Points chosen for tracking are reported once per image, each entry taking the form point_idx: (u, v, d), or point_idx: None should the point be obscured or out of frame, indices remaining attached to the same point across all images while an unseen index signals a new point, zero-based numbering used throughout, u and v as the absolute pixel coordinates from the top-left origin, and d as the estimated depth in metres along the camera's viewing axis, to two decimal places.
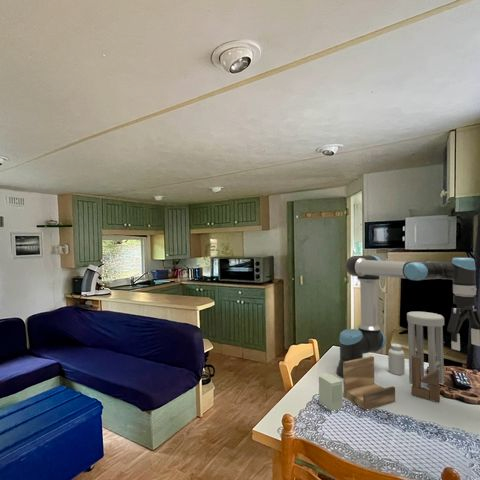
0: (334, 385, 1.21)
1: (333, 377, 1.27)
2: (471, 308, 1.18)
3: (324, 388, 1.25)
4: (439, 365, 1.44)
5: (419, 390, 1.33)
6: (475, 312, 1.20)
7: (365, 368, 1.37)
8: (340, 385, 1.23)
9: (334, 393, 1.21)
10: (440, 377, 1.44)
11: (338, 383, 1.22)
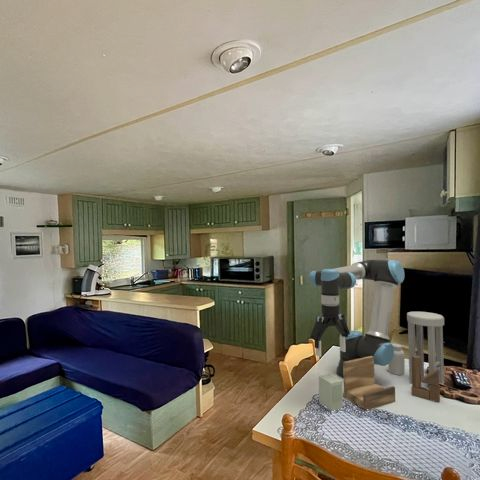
0: (334, 385, 1.21)
1: (333, 377, 1.27)
2: (336, 316, 1.27)
3: (324, 388, 1.25)
4: (439, 365, 1.44)
5: (419, 390, 1.33)
6: (342, 320, 1.28)
7: (365, 368, 1.37)
8: (340, 385, 1.23)
9: (334, 393, 1.21)
10: (440, 377, 1.44)
11: (338, 383, 1.22)
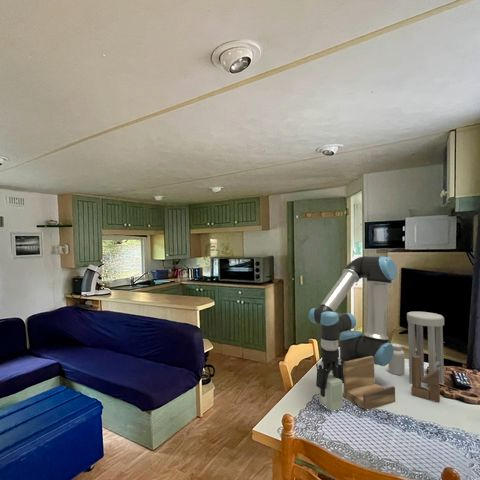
0: (334, 385, 1.21)
1: (333, 377, 1.27)
2: (336, 360, 1.26)
3: None
4: (439, 365, 1.44)
5: (419, 390, 1.33)
6: (340, 366, 1.27)
7: (365, 368, 1.37)
8: (340, 385, 1.23)
9: (334, 393, 1.21)
10: (440, 377, 1.44)
11: (338, 383, 1.22)
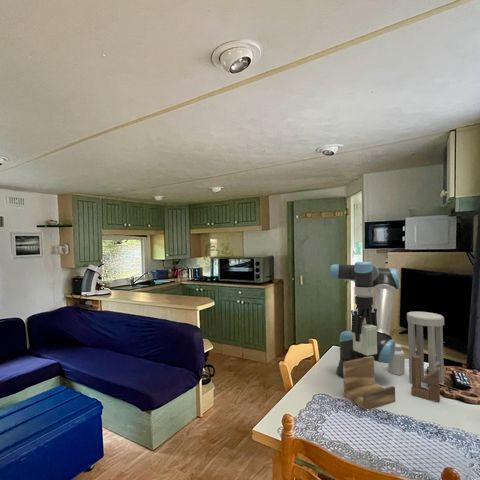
0: (369, 329, 1.26)
1: (367, 324, 1.31)
2: (370, 307, 1.30)
3: None
4: (439, 365, 1.44)
5: (419, 390, 1.33)
6: (373, 314, 1.32)
7: (365, 368, 1.37)
8: (375, 330, 1.27)
9: (369, 337, 1.25)
10: (440, 377, 1.44)
11: (373, 328, 1.27)
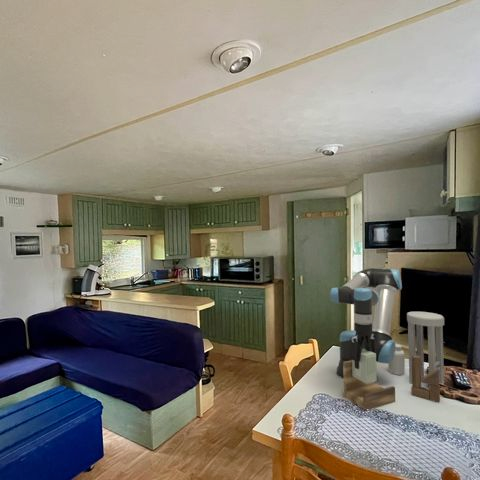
0: (368, 357, 1.26)
1: (366, 351, 1.31)
2: (369, 334, 1.31)
3: None
4: (439, 365, 1.44)
5: (419, 390, 1.33)
6: (372, 340, 1.32)
7: None
8: (374, 357, 1.27)
9: (369, 365, 1.26)
10: (440, 377, 1.44)
11: (372, 355, 1.27)
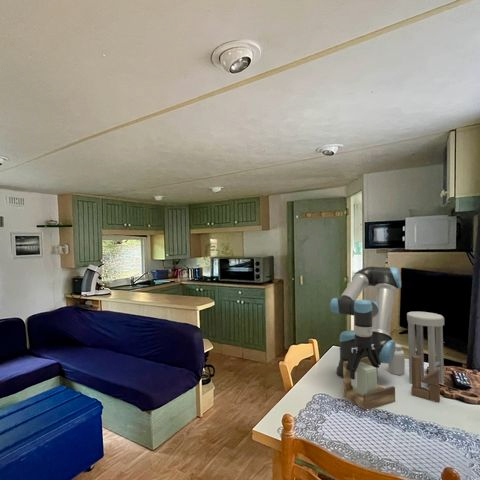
0: (369, 372, 1.26)
1: (366, 365, 1.31)
2: (369, 346, 1.31)
3: (358, 375, 1.29)
4: (439, 365, 1.44)
5: (419, 390, 1.33)
6: (374, 350, 1.32)
7: None
8: (374, 372, 1.27)
9: (369, 380, 1.26)
10: (440, 377, 1.44)
11: (372, 370, 1.27)
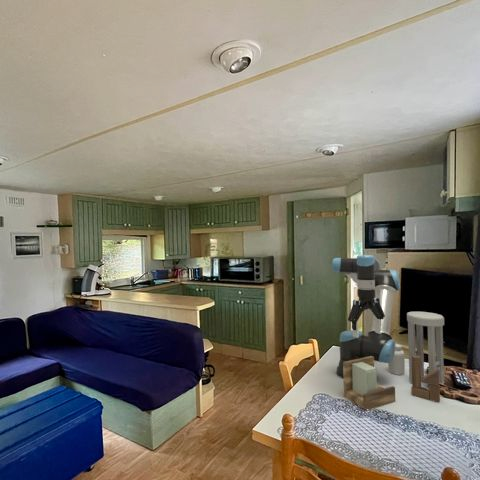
0: (369, 372, 1.26)
1: (366, 365, 1.31)
2: (372, 300, 1.32)
3: (358, 375, 1.29)
4: (439, 365, 1.44)
5: (419, 390, 1.33)
6: (377, 304, 1.34)
7: None
8: (374, 372, 1.27)
9: (369, 380, 1.26)
10: (440, 377, 1.44)
11: (372, 370, 1.27)
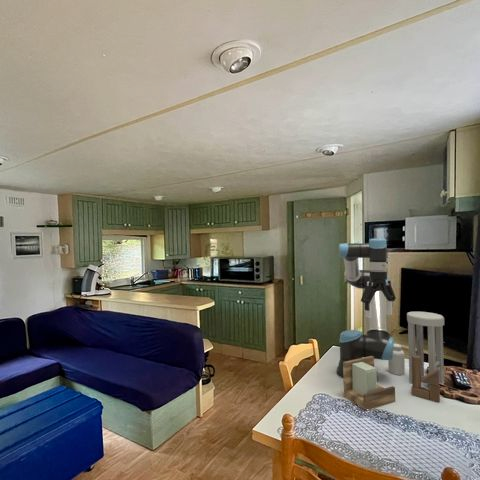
0: (369, 372, 1.26)
1: (366, 365, 1.31)
2: (384, 282, 1.37)
3: (358, 375, 1.29)
4: (439, 365, 1.44)
5: (419, 390, 1.33)
6: (388, 286, 1.38)
7: None
8: (374, 372, 1.27)
9: (369, 380, 1.26)
10: (440, 377, 1.44)
11: (372, 370, 1.27)
